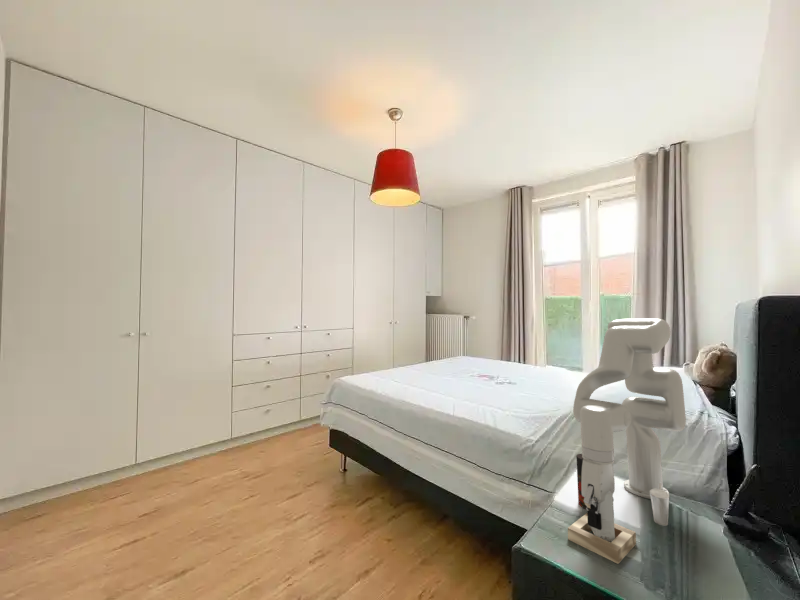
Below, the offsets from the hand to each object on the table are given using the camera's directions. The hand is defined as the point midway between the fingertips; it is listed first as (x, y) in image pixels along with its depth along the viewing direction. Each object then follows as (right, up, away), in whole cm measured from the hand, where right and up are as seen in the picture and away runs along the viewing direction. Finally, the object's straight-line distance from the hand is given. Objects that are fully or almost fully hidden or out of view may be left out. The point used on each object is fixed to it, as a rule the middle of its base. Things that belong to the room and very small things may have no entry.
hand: (601, 521), depth 91 cm
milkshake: (+22, -6, +8) cm, 24 cm away
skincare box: (0, -4, 0) cm, 4 cm away
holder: (0, -5, 0) cm, 5 cm away
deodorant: (+6, -6, +17) cm, 19 cm away
